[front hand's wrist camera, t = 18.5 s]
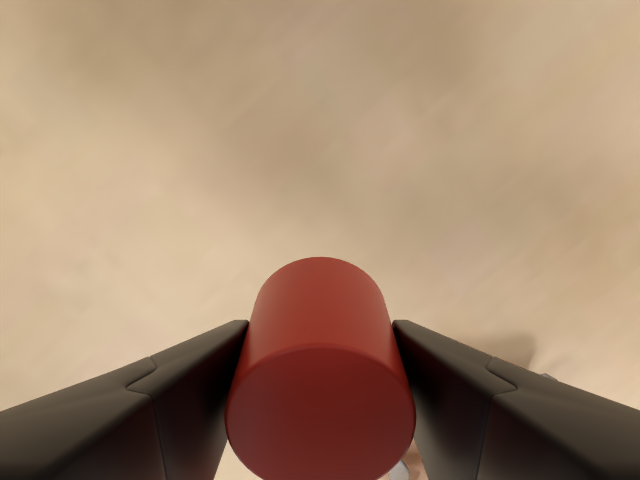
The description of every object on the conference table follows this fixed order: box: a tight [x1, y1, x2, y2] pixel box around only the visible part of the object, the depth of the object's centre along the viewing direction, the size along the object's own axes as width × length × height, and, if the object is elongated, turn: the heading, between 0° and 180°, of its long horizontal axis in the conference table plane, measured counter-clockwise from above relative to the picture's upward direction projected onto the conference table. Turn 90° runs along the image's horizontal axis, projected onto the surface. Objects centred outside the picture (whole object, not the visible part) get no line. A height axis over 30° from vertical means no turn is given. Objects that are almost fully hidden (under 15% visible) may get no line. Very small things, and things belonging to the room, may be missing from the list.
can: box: [224, 257, 417, 480], centre depth 10 cm, size 4×4×4 cm
